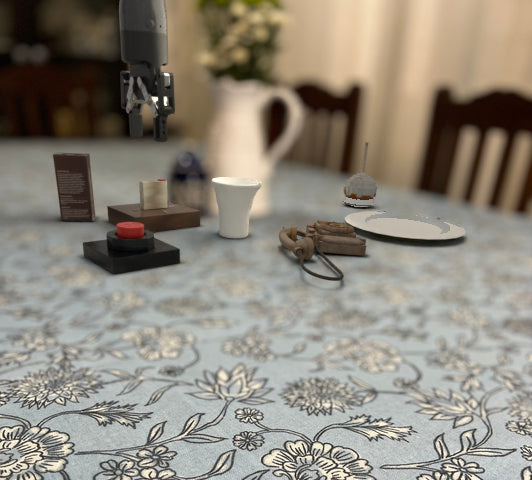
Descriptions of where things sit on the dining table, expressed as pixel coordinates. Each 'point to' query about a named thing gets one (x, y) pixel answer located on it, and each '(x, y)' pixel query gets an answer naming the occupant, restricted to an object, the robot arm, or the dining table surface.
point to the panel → (155, 216)
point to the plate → (402, 228)
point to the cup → (234, 204)
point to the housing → (130, 252)
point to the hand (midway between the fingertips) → (148, 139)
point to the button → (130, 229)
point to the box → (74, 186)
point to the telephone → (322, 243)
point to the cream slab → (153, 194)
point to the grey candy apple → (361, 184)
